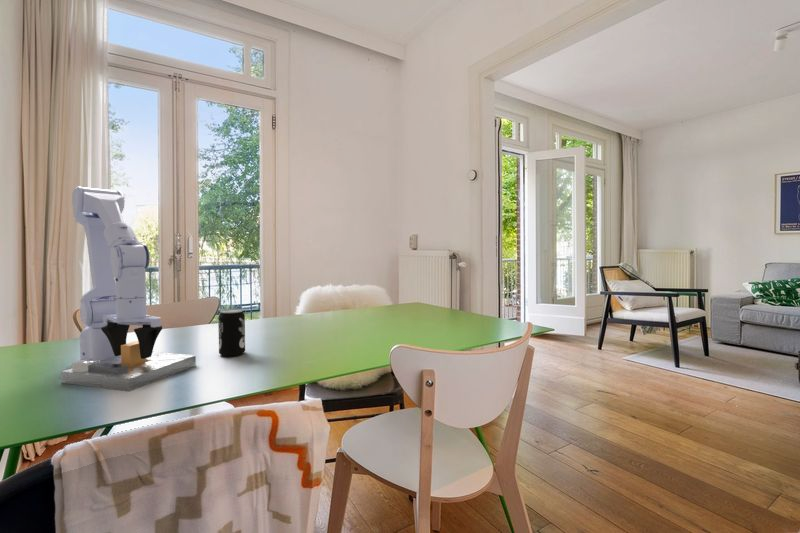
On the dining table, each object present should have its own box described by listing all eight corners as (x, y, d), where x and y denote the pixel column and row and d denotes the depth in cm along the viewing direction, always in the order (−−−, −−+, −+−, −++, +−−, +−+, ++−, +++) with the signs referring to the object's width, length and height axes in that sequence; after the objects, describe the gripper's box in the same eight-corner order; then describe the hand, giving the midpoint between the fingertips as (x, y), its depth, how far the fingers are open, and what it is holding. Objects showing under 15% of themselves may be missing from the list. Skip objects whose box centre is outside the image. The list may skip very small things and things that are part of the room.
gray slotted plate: (61, 382, 85) (61, 364, 84) (137, 359, 102) (136, 344, 102) (128, 391, 80) (128, 371, 80) (195, 365, 97) (195, 349, 97)
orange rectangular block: (121, 375, 89) (120, 345, 89) (137, 370, 93) (136, 341, 93) (130, 376, 89) (129, 346, 88) (146, 371, 93) (145, 341, 92)
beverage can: (235, 358, 104) (235, 312, 103) (213, 356, 105) (212, 311, 104) (250, 351, 110) (249, 309, 110) (229, 350, 111) (228, 308, 111)
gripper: (88, 298, 88) (91, 358, 89) (141, 301, 84) (143, 363, 85) (118, 294, 95) (120, 350, 96) (168, 296, 91) (169, 355, 92)
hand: (133, 356), depth 91 cm, fingers open, 7 cm apart
